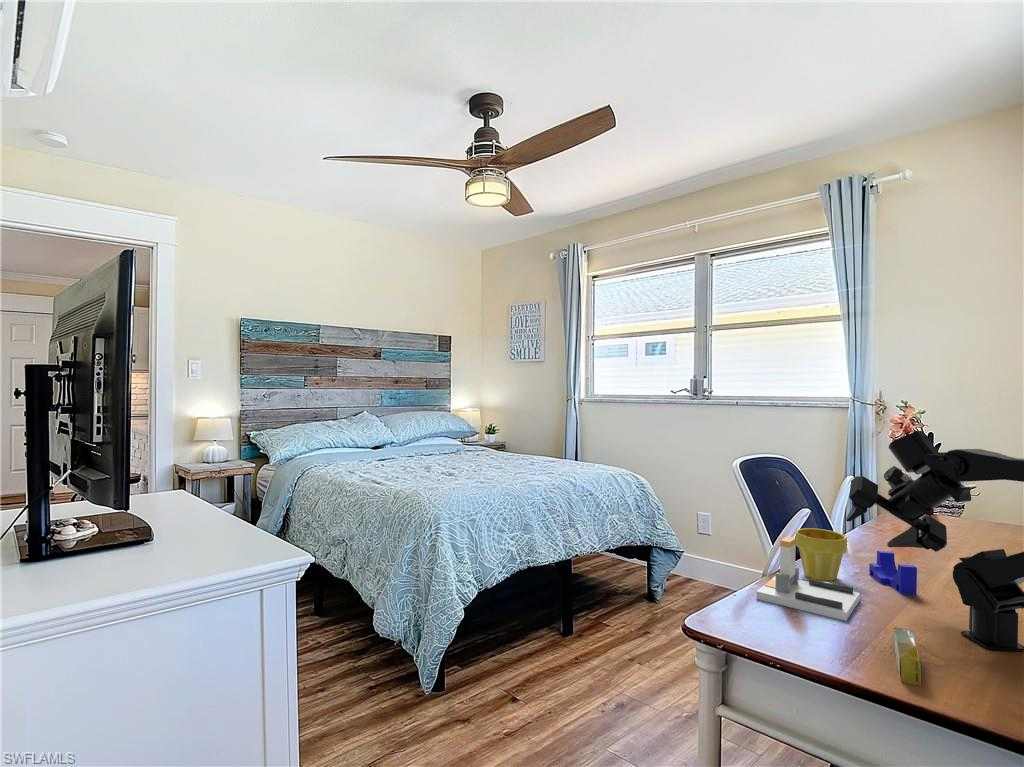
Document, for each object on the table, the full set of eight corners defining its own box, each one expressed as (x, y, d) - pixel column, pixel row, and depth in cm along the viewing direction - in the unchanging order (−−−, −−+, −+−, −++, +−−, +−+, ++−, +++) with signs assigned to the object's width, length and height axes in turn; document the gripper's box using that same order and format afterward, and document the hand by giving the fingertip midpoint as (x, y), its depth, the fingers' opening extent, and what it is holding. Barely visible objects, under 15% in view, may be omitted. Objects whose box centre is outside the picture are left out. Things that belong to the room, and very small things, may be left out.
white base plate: (859, 600, 117) (860, 575, 117) (846, 620, 106) (846, 593, 106) (776, 581, 127) (776, 559, 127) (756, 598, 117) (756, 574, 117)
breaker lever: (795, 582, 121) (796, 537, 121) (788, 588, 117) (789, 542, 117) (785, 580, 122) (786, 536, 122) (778, 586, 118) (779, 540, 118)
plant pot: (819, 585, 125) (820, 540, 125) (784, 570, 135) (785, 529, 135) (857, 582, 128) (858, 538, 128) (820, 567, 138) (821, 527, 138)
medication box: (893, 651, 95) (893, 626, 95) (913, 654, 94) (913, 630, 94) (899, 683, 84) (899, 655, 85) (922, 687, 83) (921, 659, 83)
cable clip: (869, 575, 133) (869, 550, 133) (890, 577, 133) (891, 551, 133) (892, 594, 122) (893, 565, 122) (916, 596, 121) (917, 567, 121)
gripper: (970, 492, 113) (910, 530, 124) (881, 440, 117) (830, 482, 127) (974, 533, 106) (909, 569, 117) (878, 476, 109) (824, 517, 120)
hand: (867, 532), depth 120 cm, fingers open, 9 cm apart
